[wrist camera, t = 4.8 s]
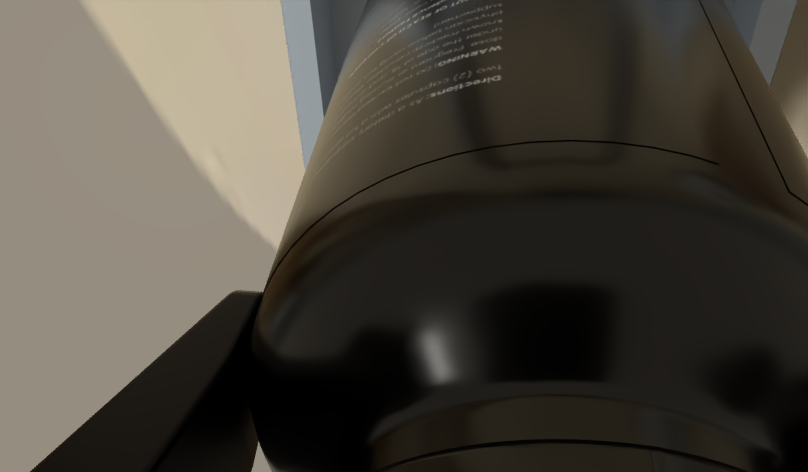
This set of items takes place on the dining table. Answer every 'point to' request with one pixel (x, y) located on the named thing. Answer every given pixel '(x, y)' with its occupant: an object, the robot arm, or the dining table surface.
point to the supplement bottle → (541, 250)
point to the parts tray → (342, 8)
